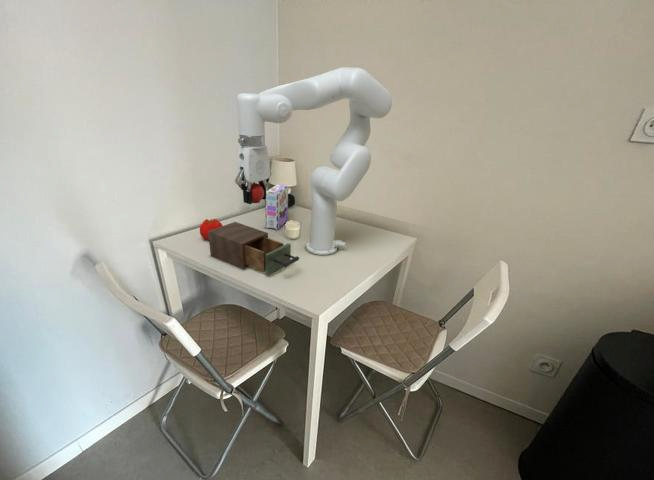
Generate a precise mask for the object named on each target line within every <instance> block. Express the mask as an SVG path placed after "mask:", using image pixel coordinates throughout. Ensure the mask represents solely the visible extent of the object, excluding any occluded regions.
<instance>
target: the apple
mask: <svg viewBox="0 0 654 480" xmlns="http://www.w3.org/2000/svg"><path fill="white" fill-rule="evenodd" d="M250 191H251V192H252V204H260V203H261V201H262V200H263V199H262V198H263V197H264V190H263V188H262V186H261V185H259V184H258V182H255V183H251V188H250Z"/></svg>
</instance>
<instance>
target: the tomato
mask: <svg viewBox="0 0 654 480" xmlns="http://www.w3.org/2000/svg"><path fill="white" fill-rule="evenodd" d="M222 226H224V225H223V224H222V222H220V221H219V220H218V219H217V218H212V219H207V218H206V219H205V220H204V221H203V222H202V223H201V224H200V225H199V234H200V237H202V238H203V239H204V240H208V241H209V236H208V231H210V230H213V229H216V228H219V227H222Z"/></svg>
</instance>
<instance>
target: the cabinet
mask: <svg viewBox="0 0 654 480" xmlns="http://www.w3.org/2000/svg"><path fill="white" fill-rule="evenodd" d="M208 236H209V240H208V244H209V251H210V256H211V257H212V258H215V259H217V260H218V261H221V262H224V263H226V264H229V265H231V266H234V267H236V268H238V269H241V270H246V269H248V268H251V267H250V266H247V265H245V255H244V245H247V244H249V243H251V242H253V241H256V240H258V239H260V238H263V237H267V238H269V232H266V231H264V230H261V229H258V228H255V227H252V226H250V225H246V224H243V223H240V222H238V221H233V222H230V223H228V224H224V225H223V226H222V227H219V228H216V229H213V230H210V231H208Z"/></svg>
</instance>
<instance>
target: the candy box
mask: <svg viewBox="0 0 654 480" xmlns="http://www.w3.org/2000/svg"><path fill="white" fill-rule="evenodd" d="M264 201H265V228H266V229H271V230H279V229H280V228H281V227H282V226H284V224H285V223H286V222H288V221H289V186H288V185H285V184H284V185H283V184H275V185H274V186H273V187H271V188H269V189H267V190H266V199H265V200H264Z"/></svg>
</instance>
